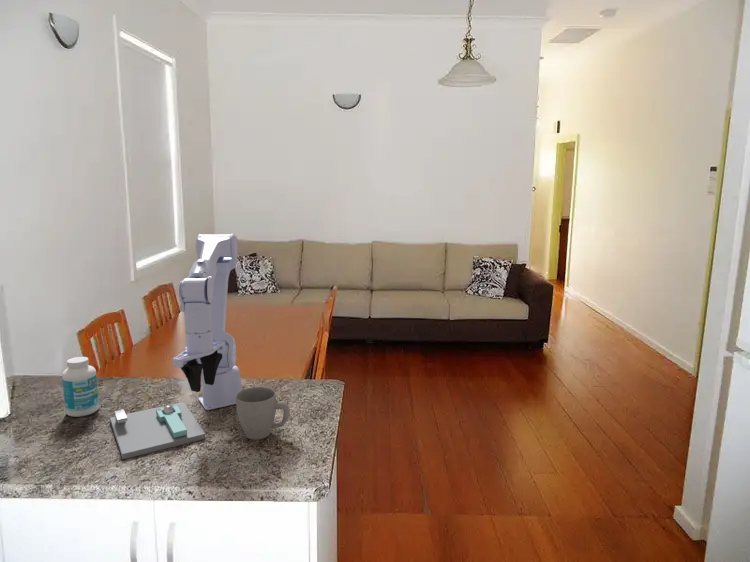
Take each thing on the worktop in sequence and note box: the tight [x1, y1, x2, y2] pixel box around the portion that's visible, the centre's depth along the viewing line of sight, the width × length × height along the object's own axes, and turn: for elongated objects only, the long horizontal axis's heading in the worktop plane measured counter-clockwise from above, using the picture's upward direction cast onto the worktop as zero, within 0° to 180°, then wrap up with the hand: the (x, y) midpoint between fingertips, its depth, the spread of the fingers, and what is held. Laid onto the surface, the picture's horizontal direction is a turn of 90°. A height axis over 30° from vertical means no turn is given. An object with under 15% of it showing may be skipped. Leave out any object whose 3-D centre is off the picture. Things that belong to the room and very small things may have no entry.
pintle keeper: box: [114, 404, 173, 424], centre depth 130 cm, size 12×5×4 cm, turn 122°
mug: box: [235, 386, 291, 440], centre depth 125 cm, size 12×9×10 cm
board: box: [109, 401, 206, 460], centre depth 128 cm, size 17×20×1 cm
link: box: [156, 405, 187, 438], centre depth 128 cm, size 14×5×1 cm, turn 32°
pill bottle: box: [61, 356, 100, 418], centre depth 136 cm, size 8×7×14 cm
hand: (202, 387), depth 127 cm, fingers open, 4 cm apart
